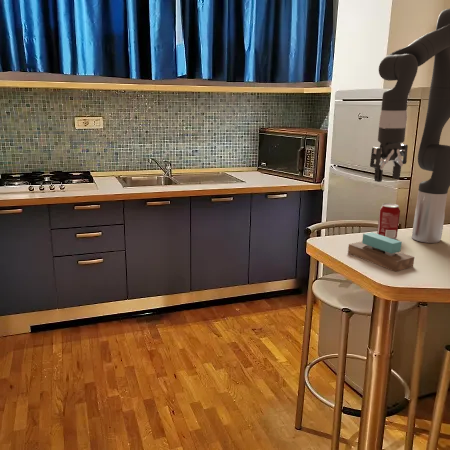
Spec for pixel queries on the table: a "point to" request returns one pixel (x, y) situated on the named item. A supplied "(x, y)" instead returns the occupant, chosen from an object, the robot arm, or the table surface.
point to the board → (381, 257)
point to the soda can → (388, 220)
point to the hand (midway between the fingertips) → (387, 179)
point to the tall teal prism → (382, 243)
